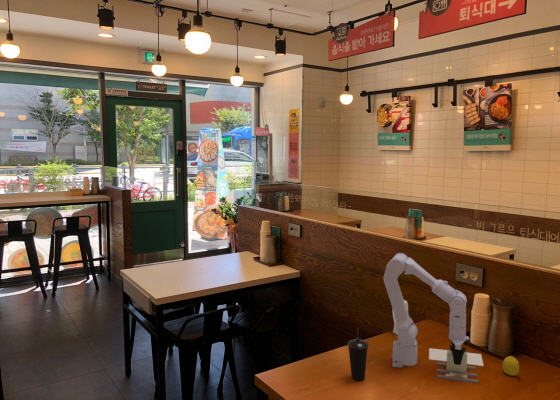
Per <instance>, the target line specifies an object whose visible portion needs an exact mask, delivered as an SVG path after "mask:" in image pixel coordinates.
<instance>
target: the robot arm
mask: <svg viewBox="0 0 560 400" xmlns="http://www.w3.org/2000/svg"><path fill="white" fill-rule="evenodd" d="M403 272H404V275H414V276H415V277H417V278H418V279H420V280H421V281H422V282H424V283H425V284H427V285H428V286H430V289H431V292H432V293H433V294H434V295H435V296H438V297H439V298H440V299H441V300H443V301H444V302H445V303H446V304H447V303H448V307H449V310H450V311H449V331H448V332H449V334H448V338H449V340H450V343H451V344H449V350H451V352H452V354H453V360H454V364H455V365H461V361H462V357H463V355H464V353H465V352H467V348H466V347H463V344H464V343H466V342H465V341H469V340H470V337H469V336H467V309H466V308H467V302H468V300H467V296H466V295H465V294H464V293H463V292H462V291H460V290H458V289H455V288H453V287H452V286H451V285H450V284H448V281H447V280H443V279H436V278H435V277H434V276H432V275H431V274H430V273H429V272H427V270H425V268H423V267H422V266H421V265H420V264H419V263H417V262H416V261H415V260H414V259H413V258H411V257H408V256H407V254H405V253H403V252H398V253H396V254H394V256H393V257H392V259H390V260H389V261H388V262H387V264H386V266H385V271H384V274H383V278H382V279H383V282H384V286H385V290H386V291H387V296H388V299H389V301H390V304H391V308H392V309H393V310H392V312H393V311H394V314H395V317H396V320H397V331H398V335H397V340H394V341H393V342H392V355H391V359H392V365H391V366H392V367H393V368H403V366H407V367H413V366H416V365H417V364H418V341H417V339H416V337H417V335H418V334H419V330H418V329H419V328H418V327H417V326H416V324H415V323H414V321H413V319H412V318H411V317H410V314H409V310H408V311H407V308H406V305H405V302H404V300H405V299H404V296H403V293H402V291H401V287H400V284H399V280H398V278H399V276H400V275H401V274H402V273H403Z"/></svg>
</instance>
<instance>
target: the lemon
mask: <svg viewBox="0 0 560 400" xmlns="http://www.w3.org/2000/svg"><path fill="white" fill-rule="evenodd" d="M519 363H520V362H519V361H518V360H517V358H516V357H514V356H513V355H509V356H507V357H505V358H504V359H503V361H502V370H503V372H504V373H505V375H508V376H512V377H514V376H517V375H518V374H519V372H520V364H519Z"/></svg>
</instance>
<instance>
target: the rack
mask: <svg viewBox="0 0 560 400" xmlns="http://www.w3.org/2000/svg"><path fill="white" fill-rule="evenodd" d="M436 366H439V367H447V362H440V361H438V362H436ZM467 370H471V371H477V367H476V366H472V365H471V366H470V365H467ZM450 372H451V373H459V374H467V377H472V378H473V379H471V378H468V379H466V378H458V377H451V376H445V375H441V374H450ZM436 373H441V374H436V379H444V380H449V381H450V380H451V381H458V382H464V383H470V384H471V383H472V384H479V380H478V379H474V378H478V374H477V373H471V372H467V373H465V372H457V371H449V370H447V369H441V368H437V369H436Z"/></svg>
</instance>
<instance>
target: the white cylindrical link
mask: <svg viewBox="0 0 560 400" xmlns="http://www.w3.org/2000/svg"><path fill="white" fill-rule="evenodd" d="M404 302H405V305H406V308H407V311H408V312H409V304H408V303H409V302H408V300H406V299H404ZM392 320H393V323H394V325H393V331H392V333H393V334H394V335H396V336H398V331H397V320H396V317H395V314H394V311H393V308H392Z"/></svg>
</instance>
